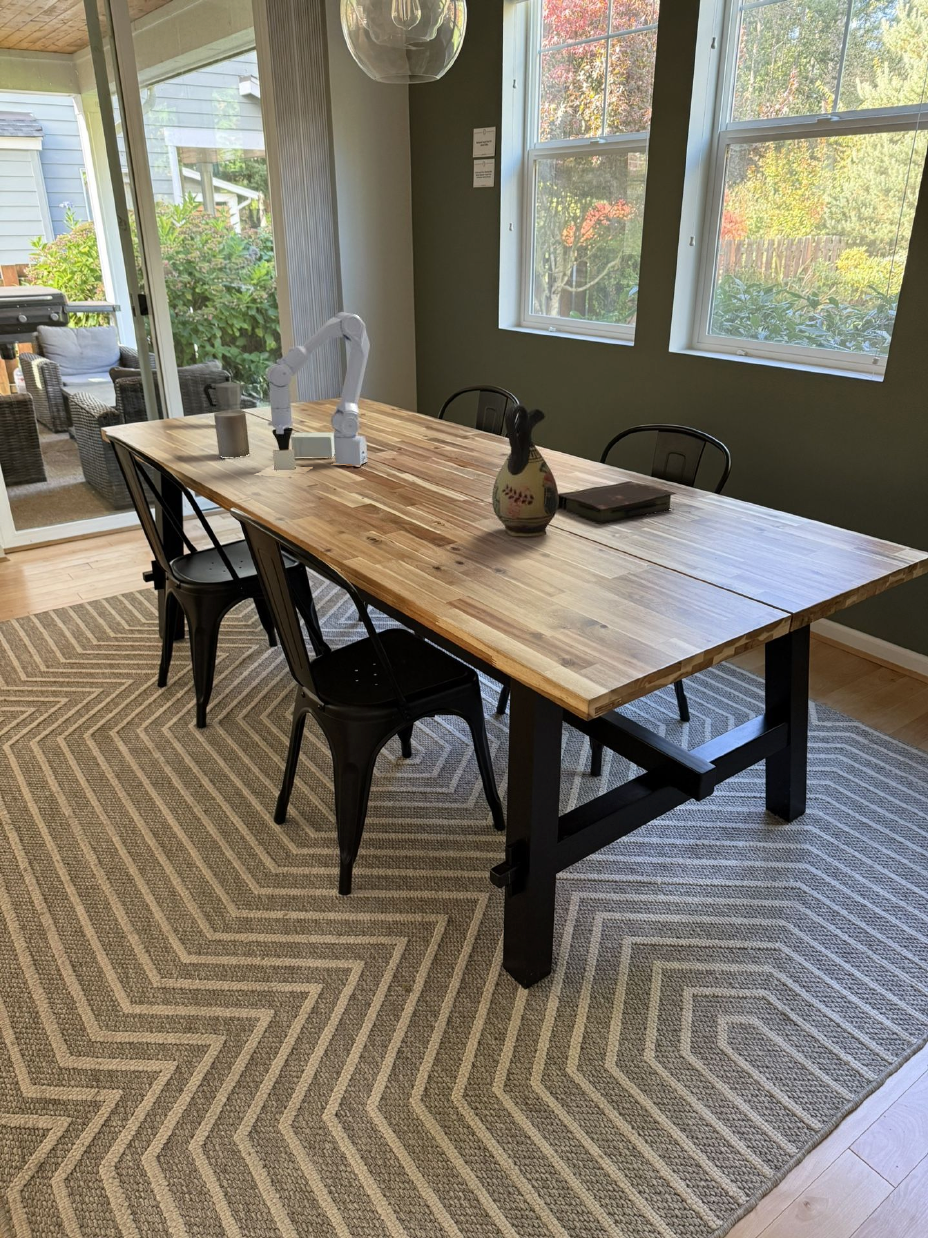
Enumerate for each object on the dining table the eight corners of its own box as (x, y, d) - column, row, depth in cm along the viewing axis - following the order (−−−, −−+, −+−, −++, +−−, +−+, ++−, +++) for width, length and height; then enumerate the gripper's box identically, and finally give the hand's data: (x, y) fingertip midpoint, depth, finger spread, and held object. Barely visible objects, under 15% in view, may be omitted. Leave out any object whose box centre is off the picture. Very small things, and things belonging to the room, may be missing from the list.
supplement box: (292, 459, 277) (332, 459, 277) (290, 436, 274) (330, 436, 274) (297, 455, 284) (336, 455, 284) (295, 431, 281) (335, 431, 281)
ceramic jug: (517, 518, 219) (520, 395, 207) (569, 530, 210) (576, 402, 198) (473, 534, 207) (474, 404, 195) (527, 548, 198) (532, 412, 186)
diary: (554, 510, 228) (555, 491, 226) (627, 497, 240) (628, 479, 238) (602, 527, 213) (603, 507, 211) (677, 512, 226) (678, 493, 224)
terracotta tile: (275, 469, 263) (273, 449, 261) (295, 469, 264) (294, 449, 261) (274, 471, 262) (272, 451, 259) (295, 470, 262) (293, 450, 260)
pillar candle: (254, 453, 286) (249, 406, 280) (244, 459, 277) (239, 411, 271) (225, 452, 287) (219, 405, 281) (214, 459, 278) (208, 411, 272)
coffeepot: (250, 423, 333) (245, 374, 326) (250, 428, 325) (245, 377, 318) (208, 425, 330) (202, 375, 323) (207, 429, 322) (201, 378, 315)
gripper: (269, 403, 264) (273, 448, 269) (263, 411, 250) (267, 459, 256) (293, 402, 264) (297, 448, 269) (288, 411, 251) (292, 458, 256)
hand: (284, 453), depth 263 cm, fingers closed
